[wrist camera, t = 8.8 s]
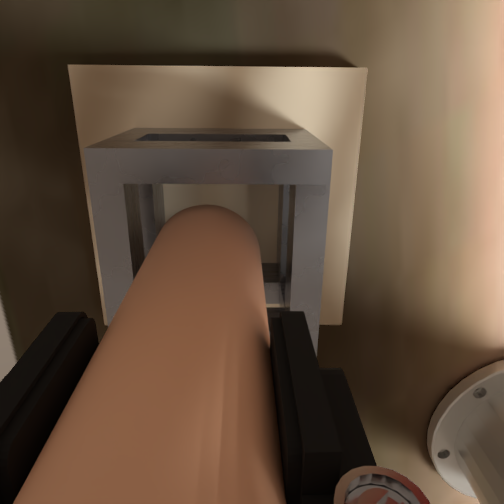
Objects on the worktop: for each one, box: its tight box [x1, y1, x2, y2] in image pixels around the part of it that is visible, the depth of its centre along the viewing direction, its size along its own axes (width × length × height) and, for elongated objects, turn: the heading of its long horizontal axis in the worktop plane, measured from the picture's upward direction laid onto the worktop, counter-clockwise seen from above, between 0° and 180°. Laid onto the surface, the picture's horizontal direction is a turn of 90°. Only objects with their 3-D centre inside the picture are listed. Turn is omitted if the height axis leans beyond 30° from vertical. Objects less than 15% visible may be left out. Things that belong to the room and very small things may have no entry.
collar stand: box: [68, 65, 368, 357], centre depth 20 cm, size 14×14×8 cm
